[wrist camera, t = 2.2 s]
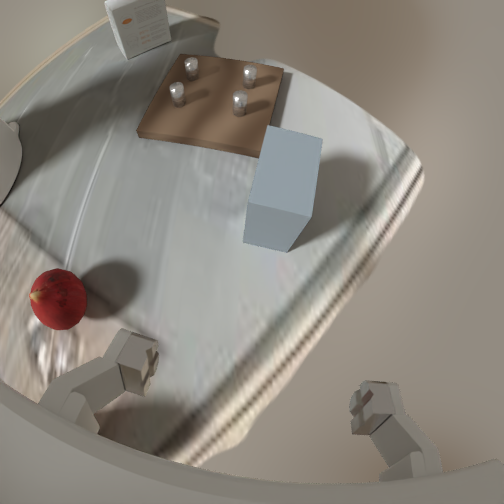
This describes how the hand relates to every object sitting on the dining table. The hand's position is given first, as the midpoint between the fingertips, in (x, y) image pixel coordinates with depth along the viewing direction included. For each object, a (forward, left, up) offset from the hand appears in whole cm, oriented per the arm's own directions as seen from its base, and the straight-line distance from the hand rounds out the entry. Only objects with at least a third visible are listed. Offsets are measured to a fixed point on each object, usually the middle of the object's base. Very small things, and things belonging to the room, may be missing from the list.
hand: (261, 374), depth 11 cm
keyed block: (0, +13, -17) cm, 22 cm away
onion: (-18, -1, -18) cm, 25 cm away
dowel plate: (-10, +27, -17) cm, 34 cm away
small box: (-26, +39, -18) cm, 50 cm away
